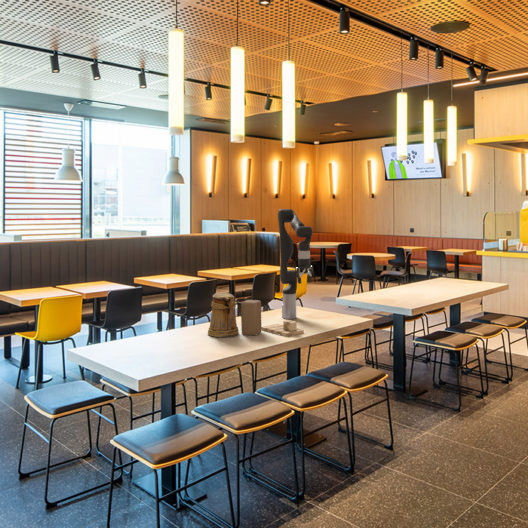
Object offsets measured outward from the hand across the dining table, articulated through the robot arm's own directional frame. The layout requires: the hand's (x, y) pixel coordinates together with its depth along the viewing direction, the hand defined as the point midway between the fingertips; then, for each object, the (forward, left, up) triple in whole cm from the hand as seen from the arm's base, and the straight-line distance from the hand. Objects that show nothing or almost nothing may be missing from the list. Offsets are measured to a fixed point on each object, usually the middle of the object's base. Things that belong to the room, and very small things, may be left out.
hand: (304, 282), depth 344 cm
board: (+2, -21, -28) cm, 35 cm away
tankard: (-15, -52, -28) cm, 61 cm away
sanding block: (+9, -21, -26) cm, 35 cm away
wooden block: (-7, -38, -28) cm, 48 cm away
